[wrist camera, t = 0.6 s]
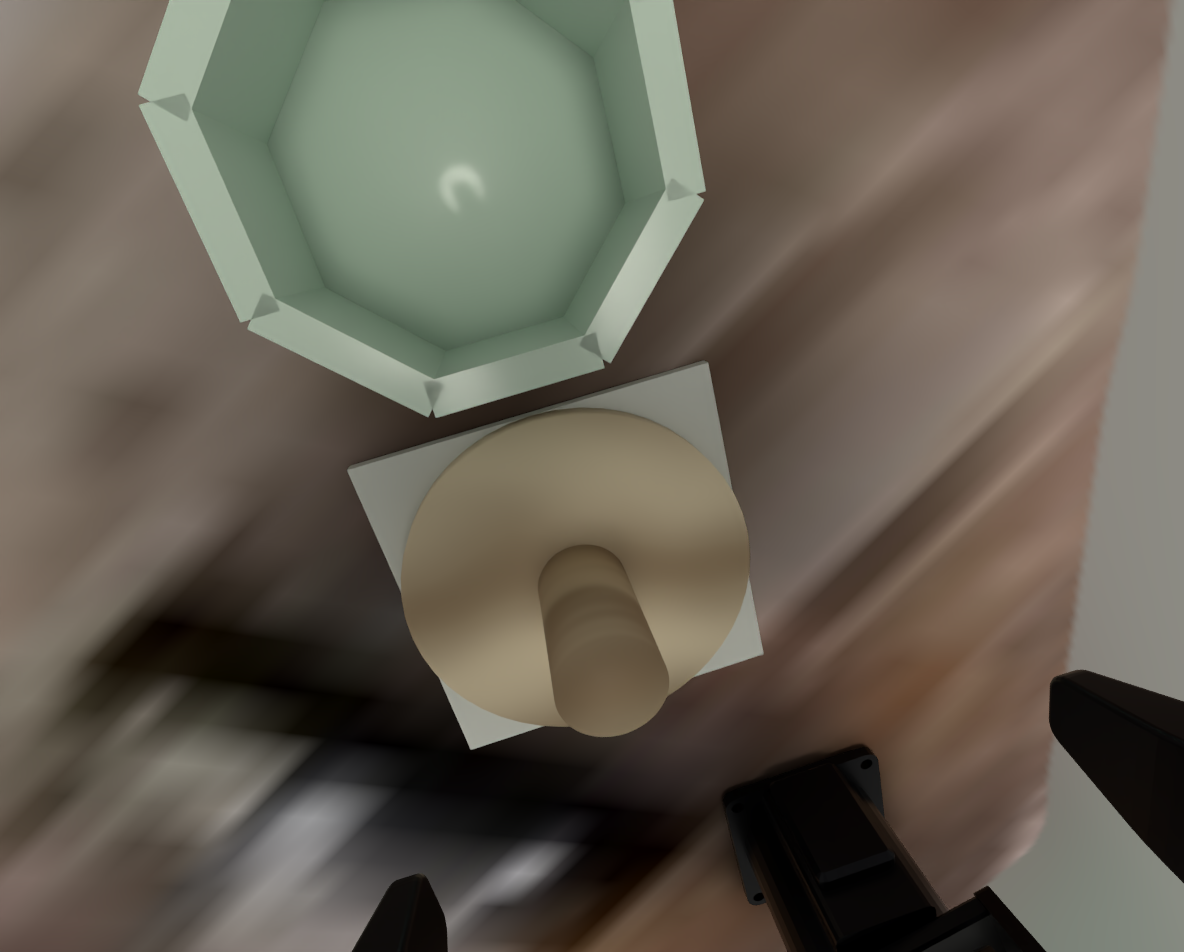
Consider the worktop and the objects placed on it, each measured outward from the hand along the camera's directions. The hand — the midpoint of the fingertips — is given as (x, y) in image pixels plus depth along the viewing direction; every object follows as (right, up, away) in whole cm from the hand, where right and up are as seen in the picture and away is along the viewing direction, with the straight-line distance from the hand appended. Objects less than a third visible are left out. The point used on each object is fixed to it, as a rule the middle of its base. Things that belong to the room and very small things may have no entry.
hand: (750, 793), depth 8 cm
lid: (-3, +1, +12) cm, 12 cm away
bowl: (-6, +12, +8) cm, 15 cm away
